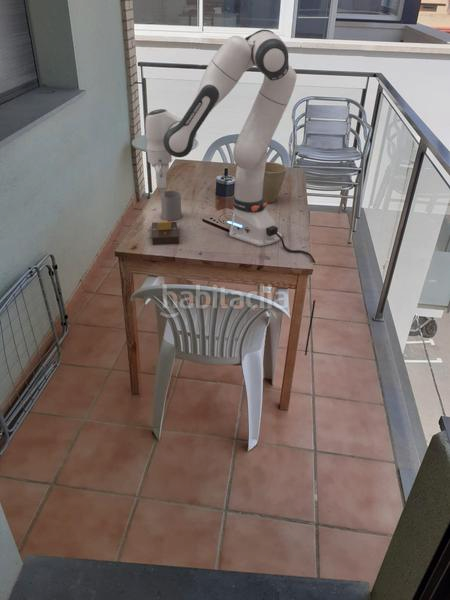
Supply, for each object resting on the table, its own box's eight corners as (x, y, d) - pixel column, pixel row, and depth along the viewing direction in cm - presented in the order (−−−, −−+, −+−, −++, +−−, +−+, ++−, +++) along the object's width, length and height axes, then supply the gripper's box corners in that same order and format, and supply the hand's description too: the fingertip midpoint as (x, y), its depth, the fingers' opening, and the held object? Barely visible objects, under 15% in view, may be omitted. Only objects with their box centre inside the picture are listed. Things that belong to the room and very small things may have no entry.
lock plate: (178, 243, 182) (178, 236, 180) (152, 244, 181) (152, 237, 179) (176, 228, 194) (176, 221, 192) (152, 229, 192) (151, 222, 191)
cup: (173, 210, 209) (172, 189, 203) (185, 216, 204) (184, 194, 198) (157, 215, 204) (156, 193, 198) (170, 221, 199) (169, 199, 193)
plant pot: (267, 208, 213) (270, 174, 204) (245, 199, 222) (246, 165, 213) (289, 201, 222) (293, 167, 213) (267, 192, 231) (269, 159, 222)
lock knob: (158, 230, 185) (158, 222, 183) (158, 228, 186) (157, 220, 184) (171, 229, 185) (170, 221, 183) (170, 228, 187) (170, 220, 185)
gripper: (169, 164, 165) (171, 202, 173) (166, 148, 182) (168, 183, 190) (151, 165, 164) (154, 202, 172) (150, 149, 181) (153, 183, 189)
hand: (161, 192), depth 181 cm, fingers open, 8 cm apart
